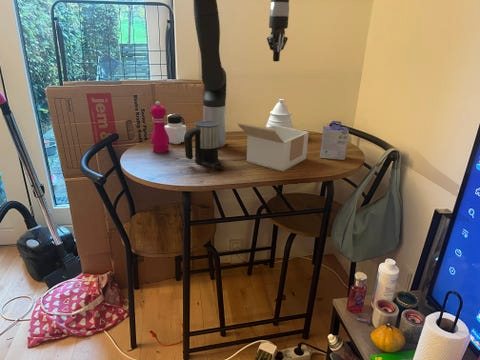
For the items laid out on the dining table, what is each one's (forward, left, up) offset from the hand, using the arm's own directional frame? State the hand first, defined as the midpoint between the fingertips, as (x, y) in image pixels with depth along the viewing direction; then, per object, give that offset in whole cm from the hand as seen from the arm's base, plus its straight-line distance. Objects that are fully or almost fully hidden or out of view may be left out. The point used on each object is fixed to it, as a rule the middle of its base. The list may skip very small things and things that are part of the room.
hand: (276, 61), depth 146 cm
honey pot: (+3, +10, -35) cm, 37 cm away
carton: (+4, -24, -35) cm, 43 cm away
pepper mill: (-44, -22, -35) cm, 60 cm away
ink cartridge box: (+26, -15, -35) cm, 46 cm away
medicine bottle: (-42, -9, -35) cm, 56 cm away
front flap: (-2, -35, -21) cm, 41 cm away
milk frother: (-20, -34, -35) cm, 53 cm away
